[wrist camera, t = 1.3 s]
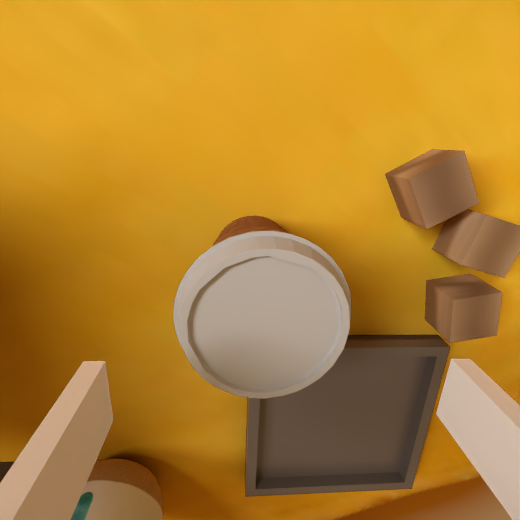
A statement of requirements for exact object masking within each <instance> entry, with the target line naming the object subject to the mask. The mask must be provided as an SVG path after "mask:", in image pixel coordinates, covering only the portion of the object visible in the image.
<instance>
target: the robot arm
mask: <svg viewBox="0 0 520 520" xmlns="http://www.w3.org/2000/svg"><path fill="white" fill-rule="evenodd" d="M436 415H437V416H438V417H439V419H440V420H441V422H442V423H443V424H444V426H445V427H446V428H447V430H448V431H449V433H450V434H451V435H452V437H453V438H454V440H455V441H456V442H457V444H458V445H459V446H460V448H461V449H462V451H463V452H464V453H465V455H466V456H467V457H468V459H469V460H470V462H471V463H472V464H473V466H474V467H475V469H476V470H477V471H478V473H479V474H480V475H481V477H482V478H483V480H484V481H485V482H486V484H487V485H488V486H489V488H490V489H491V491H492V492H493V493H494V495H495V496H496V498H497V499H498V500H499V502H500V503H501V504H502V506H503V507H504V509H505V510H506V511H507V513H508V514H509V515H510V517H511V518H512V520H520V405H519V404H518V403H516V402H515V401H514V400H513V399H512V398H511V397H510V396H509V395H508V394H507V393H506V392H505V391H504V390H503V389H502V388H501V387H500V386H498V385H497V384H496V383H495V382H494V381H493V380H492V379H491V378H490V377H489V376H488V375H487V374H486V373H485V372H484V371H483V370H482V369H480V368H479V367H478V366H477V365H476V364H475V363H474V362H473V361H472V360H471V359H451V362H450V365H449V369H448V373H447V376H446V380H445V383H444V387H443V391H442V394H441V398H440V402H439V405H438V409H437V413H436ZM112 423H113V413H112V405H111V398H110V391H109V383H108V376H107V369H106V361H83V363H82V364H81V366H80V367H79V369H78V370H77V371H76V373H75V374H74V376H73V377H72V379H71V380H70V382H69V383H68V385H67V386H66V388H65V389H64V390H63V392H62V393H61V395H60V396H59V398H58V399H57V401H56V402H55V404H54V405H53V407H52V408H51V409H50V411H49V412H48V414H47V415H46V417H45V418H44V420H43V421H42V423H41V424H40V426H39V427H38V428H37V430H36V431H35V433H34V434H33V436H32V437H31V439H30V440H29V442H28V443H27V445H26V446H25V448H24V449H23V450H22V452H21V453H20V455H19V456H18V458H17V459H16V461H15V462H0V520H71V517H72V515H73V513H74V510H75V508H76V506H77V503H78V501H79V499H80V496H81V494H82V492H83V490H84V487H85V485H86V483H87V480H88V478H89V476H90V473H91V471H92V469H93V467H94V464H95V462H96V460H97V457H98V455H99V453H100V450H101V448H102V446H103V444H104V441H105V439H106V437H107V434H108V432H109V430H110V427H111V425H112Z"/></svg>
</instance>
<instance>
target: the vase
mask: <svg viewBox="0 0 520 520" xmlns="http://www.w3.org/2000/svg"><path fill="white" fill-rule="evenodd" d="M163 510H164V506H163V496H162V491H161V489H160V486H159V484H158V481H157V480H156V478H155V477H154V475H153V474H152V473H151V472H150V471H149V470H148V469H147V468H146V467H144V466H142V465H141V464H138V463H136V462H133V461H130V460H125V459H106V460H101V461H98V462H95V464H94V467H93V469H92V471H91V473H90V476H89V478H88V480H87V483H86V485H85V487H84V490H83V492H82V494H81V496H80V499H79V501H78V503H77V506H76V508H75V510H74V513H73V515H72V517H71V520H163Z"/></svg>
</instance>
